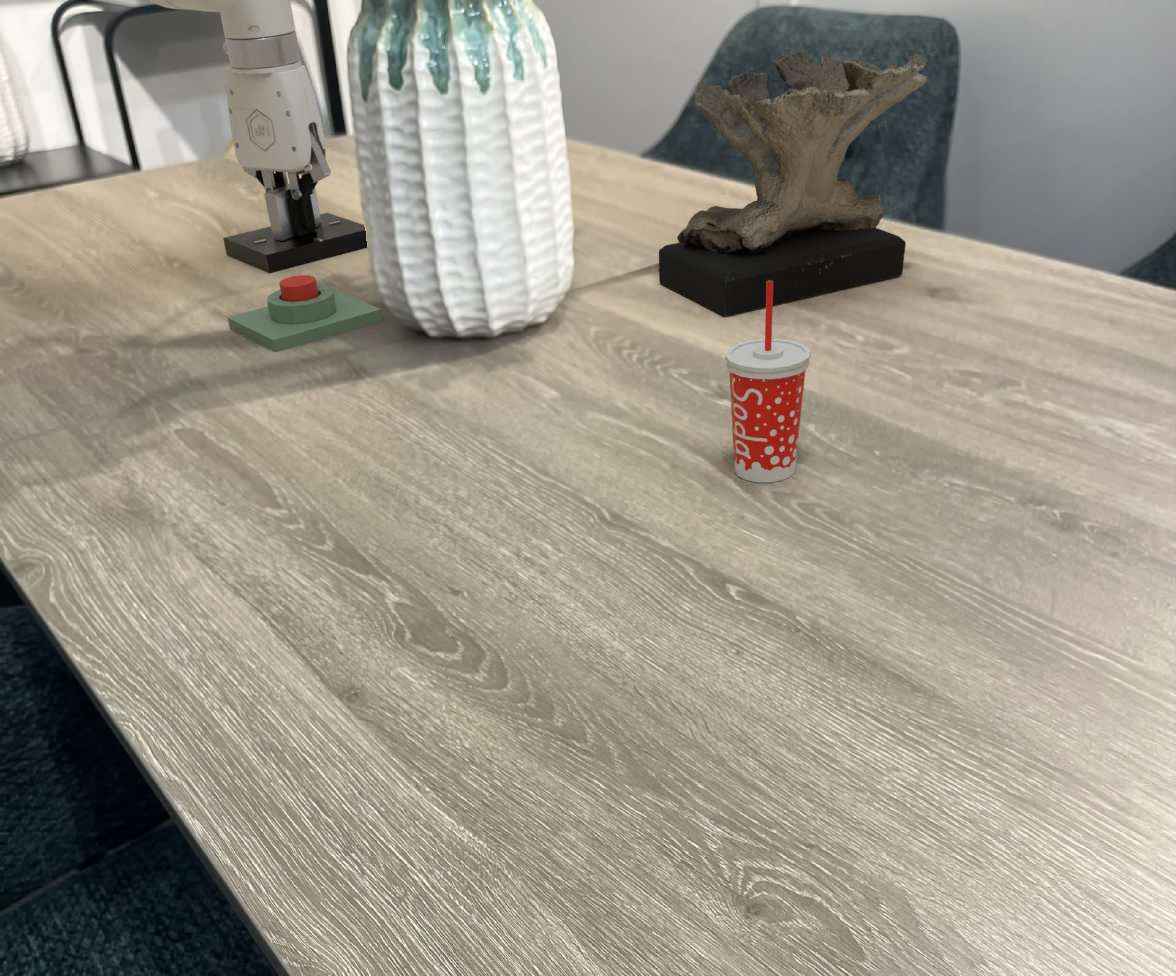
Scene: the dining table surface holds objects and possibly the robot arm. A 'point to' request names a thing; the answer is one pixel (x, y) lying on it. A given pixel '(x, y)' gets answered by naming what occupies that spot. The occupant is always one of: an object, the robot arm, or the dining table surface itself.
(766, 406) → the beverage cup
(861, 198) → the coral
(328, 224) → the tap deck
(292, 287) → the button
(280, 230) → the upright grey panel
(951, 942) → the dining table surface
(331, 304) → the button block
